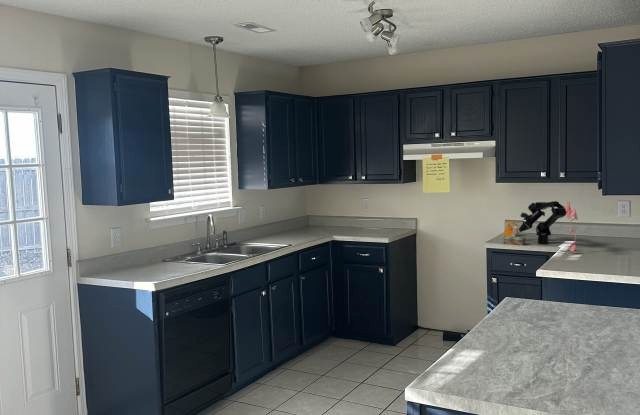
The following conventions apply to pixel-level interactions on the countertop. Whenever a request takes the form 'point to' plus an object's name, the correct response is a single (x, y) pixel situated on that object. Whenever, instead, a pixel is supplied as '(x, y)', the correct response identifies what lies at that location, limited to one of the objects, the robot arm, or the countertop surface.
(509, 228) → the bracket
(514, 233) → the wooden pepper mill
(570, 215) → the figurine
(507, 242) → the green slab with socket
